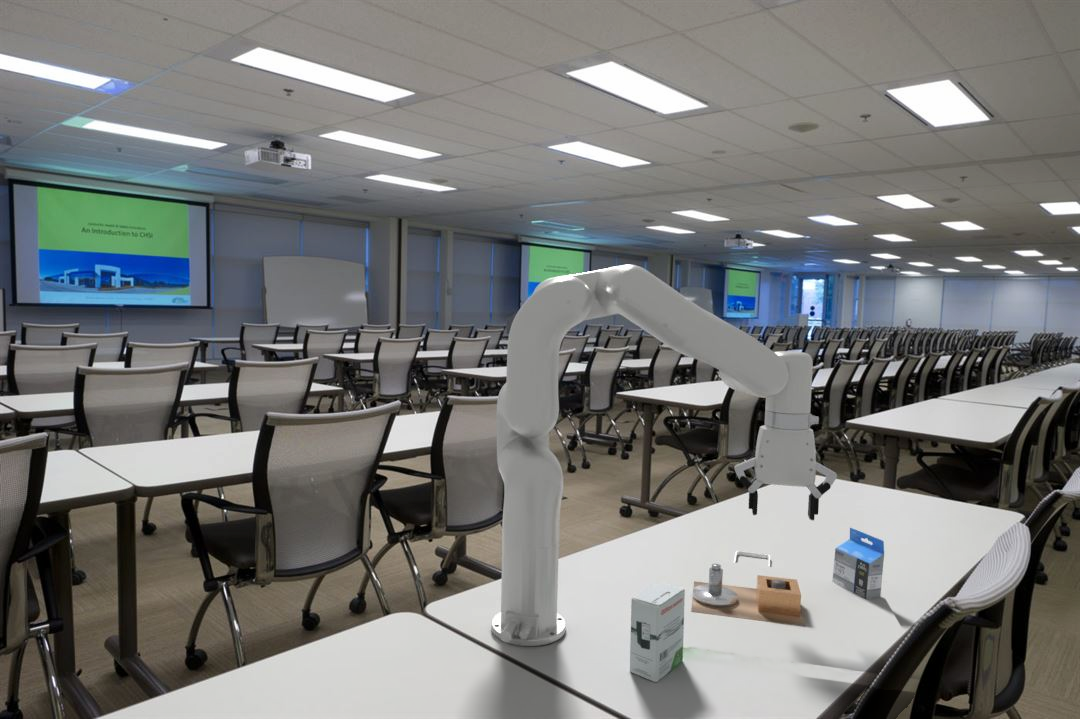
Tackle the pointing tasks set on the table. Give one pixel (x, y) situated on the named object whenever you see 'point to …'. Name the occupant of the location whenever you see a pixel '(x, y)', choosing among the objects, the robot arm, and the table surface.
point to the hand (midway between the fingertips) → (782, 515)
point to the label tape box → (859, 565)
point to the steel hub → (715, 591)
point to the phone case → (752, 555)
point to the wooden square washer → (778, 597)
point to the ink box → (657, 630)
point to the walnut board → (747, 606)
